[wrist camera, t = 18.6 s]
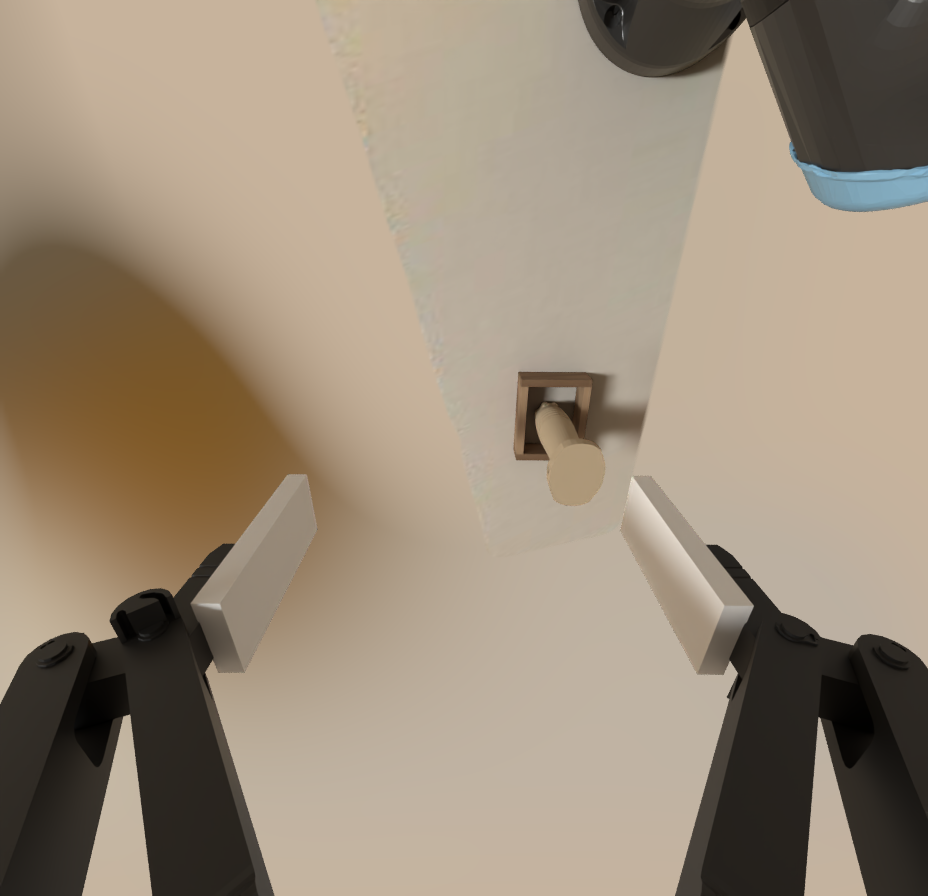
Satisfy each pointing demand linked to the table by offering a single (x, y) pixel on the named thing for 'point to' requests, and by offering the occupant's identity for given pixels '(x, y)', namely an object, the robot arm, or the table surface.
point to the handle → (568, 457)
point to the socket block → (549, 380)
